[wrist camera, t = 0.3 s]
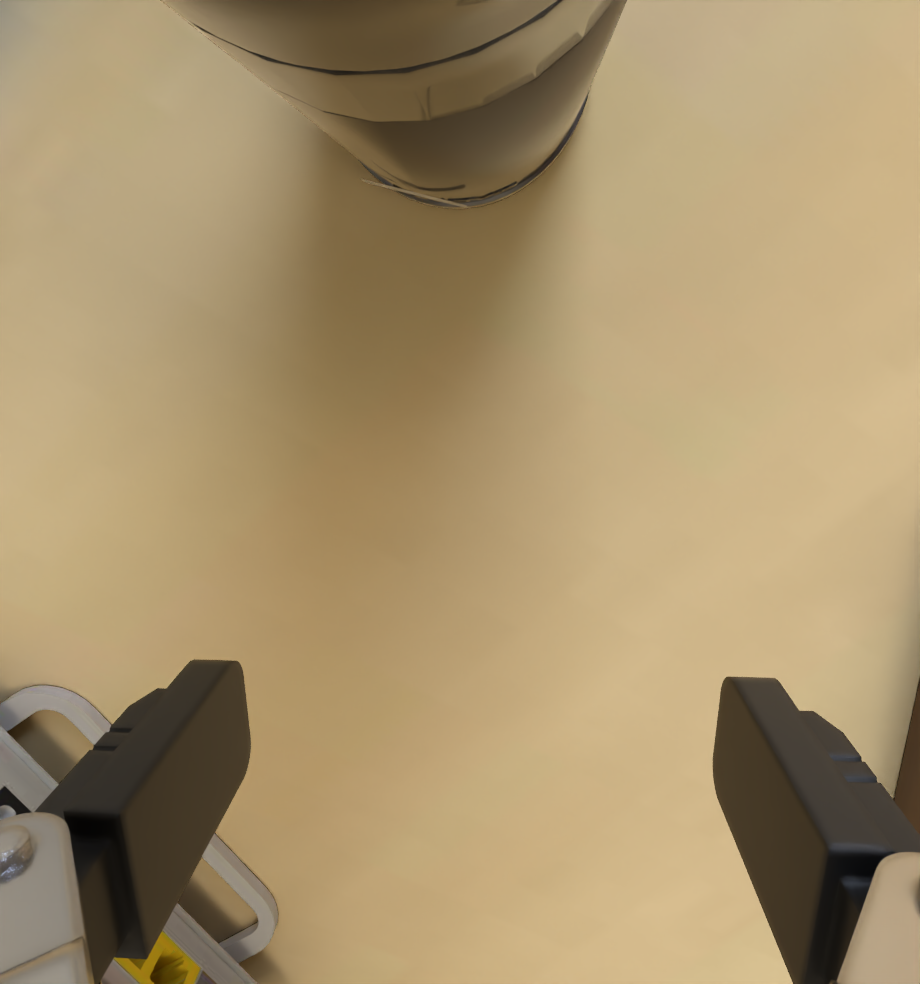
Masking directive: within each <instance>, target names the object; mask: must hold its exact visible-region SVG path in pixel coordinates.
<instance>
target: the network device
mask: <svg viewBox="0 0 920 984" xmlns="http://www.w3.org/2000/svg"><path fill="white" fill-rule="evenodd" d="M40 710H53V711H56V712H59V713H61V714H62V715H64V716H66V717H67V718H68V719H69V720H70V721H71V722H72V723H73V724H74V725H75V726H76V727H77V728H78V729H79V730H80V731H81V732H82V733H83V735H84V736H85V737H86V738H87V739H88V740H89V741H90V742H91V743H92V744H93V745H95V744H96V742H97V741H98V740H99V739H100V738H101V737H102V736H103V735H104V734H105V732H109V731H110V727H111V726H112V725H111V724H110V723H109V722H108V721H107V720H106V719H105V718H104V717H103V716H102V715H101V714H100V713H99V712H98V711H97V710H96V708H94V707H93V706H92V705H91V704H90V703H89V702H88V701H87V700H85V699H84V698H82V697H80V696H79V695H77V694H75V693H73V692H71V691H68V690H66V689H63V688H60V687H54V686H49V685H42V686H32V687H28V688H24V689H22V690H20V691H19V692H17V693H15V694H13V695H12V696H11V697H9V698H8V699H7V700H5V701H4V702H2V703H1V704H0V820H2V819H4V818H8V817H11V816H14V815H19V814H24V813H32V812H34V811H35V810H36V809H37V808H38V807H39V806H40V805H41V804H42V802H43V801H44V800H45V799H46V798H47V797H48V796H49V795H50V794H51V792H52V791H53V790H54V789H55V788H56V787H57V786H58V785H59V784H58V783H57V782H56V781H55V780H54V779H53V778H52V777H51V776H50V775H49V774H48V773H47V772H46V771H45V770H44V769H43V768H42V767H41V766H40V765H39V764H38V763H37V762H36V761H35V760H34V759H33V758H32V757H31V756H30V755H29V754H28V753H27V752H26V751H25V750H24V749H23V748H22V747H21V746H20V745H19V744H18V743H17V742H16V741H15V740H14V739H13V738H12V737H11V736H10V735H9V734H8V733H7V731H9V730H10V729H12V728H13V727H15V726H16V725H17V724H19V723H20V722H22V721H23V720H25V719H26V718H28V717H29V716H30V715H32V714H33V713H35V712H37V711H40ZM202 857H203V858H204V860H205V861H206V862H207V863H208V864H209V865H210V866H211V867H212V868H213V869H214V870H215V871H216V872H217V873H218V874H219V875H220V876H221V877H222V878H223V879H224V880H225V881H226V882H227V883H228V884H229V885H230V886H231V887H232V888H233V889H234V891H235V892H236V893H237V894H238V895H239V896H240V897H241V898H242V899H243V900H244V901H245V902H246V903H247V904H248V905H249V906H250V907H251V908H252V909H253V910H254V912H255V913H256V915H257V917H258V922H257V923H256V924H254V925H252V926H250V927H248V928H246V929H245V930H243V931H241V932H239V933H237V934H235V935H233V936H231V937H230V938H228V939H226V940H224V941H222V942H220V943H217V942H216V941H215V940H214V939H213V938H212V937H211V936H210V935H209V934H208V933H207V932H206V931H205V930H204V929H203V928H202V927H201V926H200V925H199V924H198V923H197V922H196V921H195V920H194V919H193V918H192V917H191V916H190V915H189V914H188V913H187V912H186V911H185V910H184V909H183V908H182V907H181V906H180V905H179V904H178V903H177V904H176V906H175V908H174V910H173V911H172V913H171V915H170V917H169V919H168V921H167V923H166V924H165V926H164V928H163V930H162V932H161V934H160V936H159V938H158V939H157V941H156V943H155V945H154V947H153V949H152V951H151V952H150V954H149V956H148V958H147V959H131V958H115V957H114V958H113V960H112V962H111V964H110V965H109V967H108V969H107V970H106V972H105V974H104V976H103V977H102V979H101V983H102V984H258V983H257V982H256V981H255V980H254V979H253V978H252V977H251V976H250V975H249V974H248V973H247V972H246V971H245V970H244V969H243V968H242V967H241V966H240V965H239V964H238V963H240V962H242V961H244V960H245V959H247V958H249V957H251V956H253V955H255V954H257V953H258V952H260V951H261V950H263V949H264V948H265V947H266V946H267V944H268V943H269V942H270V940H271V938H272V936H273V933H274V931H275V928H276V925H277V920H278V910H277V905H276V902H275V900H274V898H273V896H272V895H271V893H270V892H269V891H268V889H267V888H266V887H265V886H264V885H263V884H262V883H261V882H260V881H259V880H258V879H257V877H256V876H255V875H254V874H253V873H252V872H251V871H250V870H249V869H248V868H247V867H246V866H245V865H244V864H243V863H242V862H241V861H240V860H239V859H238V858H237V856H236V855H235V854H234V853H233V852H232V851H231V850H230V849H229V848H228V847H227V846H226V845H225V844H224V843H223V842H222V841H221V840H220V839H219V838H218V837H217V835H216V834H215V833H214V835H213V837H212V839H211V840H210V842H209V844H208V846H207V848H206V850H205V852H204V853H203V855H202Z"/></svg>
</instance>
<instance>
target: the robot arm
mask: <svg viewBox="0 0 920 984" xmlns="http://www.w3.org/2000/svg"><path fill="white" fill-rule="evenodd" d="M161 1H162V2H163V3H164V4H166V5H167V6H168V7H169V8H171V9H172V10H173V11H174V12H176V13H177V14H178V15H179V16H181V17H182V18H183V19H184V20H186V21H187V22H188V23H189V24H190V25H192V26H193V27H194V28H195V29H197V30H198V31H199V32H200V33H202V34H203V35H204V36H205V37H207V38H208V39H209V40H210V41H212V42H213V43H214V44H215V45H217V46H218V47H219V48H220V49H222V50H223V51H224V52H225V53H227V54H228V55H229V56H231V57H232V58H233V59H235V60H236V61H237V62H239V63H240V64H241V65H242V66H244V67H245V68H246V69H247V70H249V71H250V72H251V73H252V74H253V75H255V76H256V77H257V78H258V79H260V80H261V81H262V82H263V83H265V84H266V85H267V86H268V87H270V88H271V89H272V90H273V91H274V92H276V93H277V94H278V95H279V96H281V97H282V98H283V99H284V100H286V101H287V102H288V103H289V104H291V105H292V106H293V107H294V108H295V109H297V110H298V111H299V112H300V113H302V114H303V115H304V116H305V117H307V118H308V119H309V120H310V121H312V122H313V123H314V124H315V125H316V126H318V127H319V128H320V129H321V130H323V131H324V132H325V133H326V134H328V135H329V136H330V137H331V138H333V139H334V140H335V141H336V142H337V143H339V144H340V145H341V146H342V147H344V148H345V149H346V150H347V151H349V152H350V153H351V154H352V155H354V156H355V157H356V158H357V159H358V160H359V161H360V162H361V163H362V165H363V166H364V167H365V168H366V169H367V170H368V171H369V172H370V173H372V174H373V175H374V176H375V177H376V178H377V179H379V180H380V181H381V182H383V183H384V184H385V185H384V184H380V183H376V182H372V181H368V180H364V179H361V180H363V181H364V182H365V183H369V184H373V185H376V186H380V187H384V188H388V189H392V190H394V191H396V192H397V193H399V194H401V195H403V196H405V197H407V198H409V199H411V200H414V201H417V202H419V203H422V204H426V205H430V206H434V207H440V208H450V209H463V208H473V207H479V206H484V205H488V204H491V203H495V202H497V201H500V200H502V199H505V198H507V197H509V196H511V195H513V194H515V193H517V192H519V191H520V190H522V189H523V188H525V187H526V186H528V185H529V184H530V183H532V182H533V181H534V180H535V179H537V178H538V177H539V176H540V175H541V174H542V173H543V172H544V171H545V170H546V169H547V168H548V167H549V166H550V165H551V164H552V163H553V162H554V160H555V159H556V158H557V157H558V156H559V154H560V153H561V151H562V150H563V149H564V147H565V146H566V144H567V142H568V141H569V139H570V137H571V135H572V134H573V132H574V130H575V128H576V125H577V123H578V121H579V119H580V117H581V114H582V112H583V109H584V106H585V103H586V100H587V97H588V93H589V89H590V87H591V84H592V82H593V80H594V77H595V75H596V73H597V70H598V68H599V65H600V63H601V61H602V58H603V56H604V54H605V51H606V49H607V46H608V44H609V42H610V39H611V37H612V35H613V32H614V30H615V27H616V25H617V23H618V20H619V18H620V16H621V13H622V11H623V8H624V6H625V4H626V1H627V0H161ZM250 749H251V738H250V729H249V720H248V711H247V702H246V693H245V684H244V675H243V670H242V667H241V665H240V663H239V662H238V661H225V660H192V661H190V662H189V663H188V664H187V665H186V666H185V668H184V669H183V670H182V671H181V672H180V673H179V675H178V676H177V677H176V678H175V679H174V681H173V682H172V683H171V684H170V685H169V686H168V688H167V689H159V688H157V689H156V690H154V691H153V692H151V693H149V694H148V695H146V696H145V697H143V698H141V699H140V700H138V701H137V702H135V703H134V704H132V705H130V706H129V707H128V708H127V709H126V710H125V711H124V712H123V714H122V715H121V716H120V717H119V718H118V719H117V720H116V721H115V722H114V724H113V725H112V726H111V727H110V731H109V732H105V734H104V735H103V736H102V737H101V738H100V739H99V740H98V741H97V742H96V744H95V745H94V748H93V750H89V751H88V752H87V754H86V755H85V756H84V757H83V758H82V759H81V760H80V761H79V762H78V764H77V765H76V766H75V767H74V768H73V769H72V770H71V771H70V772H69V774H68V775H67V776H66V777H65V778H64V779H63V780H62V781H61V782H60V784H59V785H58V786H57V787H56V788H55V789H54V790H53V791H52V792H51V794H50V795H49V796H48V797H47V798H46V799H45V800H44V801H43V802H42V804H41V805H40V806H39V807H38V808H37V809H36V810H35V811H34V812H32V813H24V814H19V815H14V816H11V817H8V818H4V819H2V820H0V984H102V983H101V979H102V977H103V976H104V974H105V972H106V970H107V969H108V967H109V965H110V964H111V962H112V960H113V958H114V957H115V958H131V959H147V958H148V956H149V954H150V952H151V951H152V949H153V947H154V945H155V943H156V941H157V939H158V938H159V936H160V934H161V932H162V930H163V928H164V926H165V924H166V923H167V921H168V919H169V917H170V915H171V913H172V911H173V910H174V908H175V906H176V904H177V902H178V900H179V898H180V896H181V895H182V893H183V891H184V889H185V887H186V885H187V883H188V881H189V880H190V878H191V876H192V874H193V872H194V870H195V868H196V867H197V865H198V863H199V861H200V859H201V857H202V855H203V853H204V852H205V850H206V848H207V846H208V844H209V842H210V840H211V839H212V837H213V835H214V833H215V831H216V829H217V827H218V825H219V824H220V822H221V820H222V818H223V816H224V814H225V812H226V811H227V809H228V807H229V805H230V803H231V801H232V799H233V797H234V796H235V794H236V792H237V790H238V788H239V786H240V784H241V783H242V781H243V779H244V776H245V774H246V771H247V767H248V763H249V758H250ZM713 778H714V785H715V790H716V794H717V798H718V800H719V803H720V805H721V808H722V810H723V813H724V815H725V818H726V820H727V823H728V825H729V827H730V830H731V832H732V835H733V837H734V840H735V842H736V845H737V847H738V850H739V852H740V854H741V857H742V859H743V862H744V864H745V867H746V869H747V872H748V874H749V876H750V879H751V881H752V884H753V886H754V889H755V891H756V894H757V896H758V898H759V901H760V903H761V906H762V908H763V911H764V913H765V916H766V918H767V921H768V923H769V925H770V928H771V930H772V933H773V935H774V938H775V940H776V943H777V945H778V947H779V950H780V952H781V955H782V957H783V960H784V962H785V965H786V967H787V970H788V972H789V974H790V977H791V979H792V982H793V984H920V835H919V834H918V832H917V831H916V830H915V828H914V827H913V826H912V824H911V823H910V822H909V820H908V819H907V818H906V816H905V815H904V814H903V812H902V811H901V810H900V808H899V807H898V806H897V804H896V803H895V802H894V800H893V799H892V798H891V796H890V795H889V794H888V792H887V791H886V790H885V788H884V787H883V785H882V784H881V783H877V777H876V776H875V775H874V773H873V772H872V771H871V769H870V768H869V767H868V765H867V764H866V763H865V762H862V760H861V756H860V755H859V753H858V752H857V751H856V749H855V748H854V747H853V745H852V744H851V743H850V741H849V740H848V739H847V737H846V736H845V735H844V733H843V732H841V731H840V730H839V729H837V728H836V727H834V726H833V725H832V724H830V723H829V722H828V721H826V720H825V719H823V718H822V717H821V716H819V715H818V714H817V713H815V712H814V711H799V710H798V708H797V707H796V706H795V704H794V703H793V701H792V700H791V698H790V697H789V695H788V694H787V692H786V691H785V689H784V688H783V687H782V685H781V684H780V682H779V681H778V680H777V679H775V678H754V677H726V678H725V679H724V681H723V684H722V687H721V694H720V703H719V711H718V720H717V728H716V736H715V745H714V753H713Z"/></svg>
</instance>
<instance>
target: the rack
mask: <svg viewBox="0 0 920 984" xmlns="http://www.w3.org/2000/svg"><path fill="white" fill-rule="evenodd" d="M894 802H895V803H896V804H897V806H898V807H899V808H900V810H901V811H902V812H903V814H904V815H905V816H906V818H907V819H908V820H909V822H910V823H911V824H912V826H913V827H914V828H915V830H916V831H917V832H918V834H919V835H920V682H919V687H918V691H917V696H916V701H915V705H914V710H913V715H912V719H911V724H910V728H909V733H908V738H907V742H906V747H905V752H904V756H903V761H902V766H901V770H900V775H899V780H898V784H897V789H896V794H895V798H894Z"/></svg>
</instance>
